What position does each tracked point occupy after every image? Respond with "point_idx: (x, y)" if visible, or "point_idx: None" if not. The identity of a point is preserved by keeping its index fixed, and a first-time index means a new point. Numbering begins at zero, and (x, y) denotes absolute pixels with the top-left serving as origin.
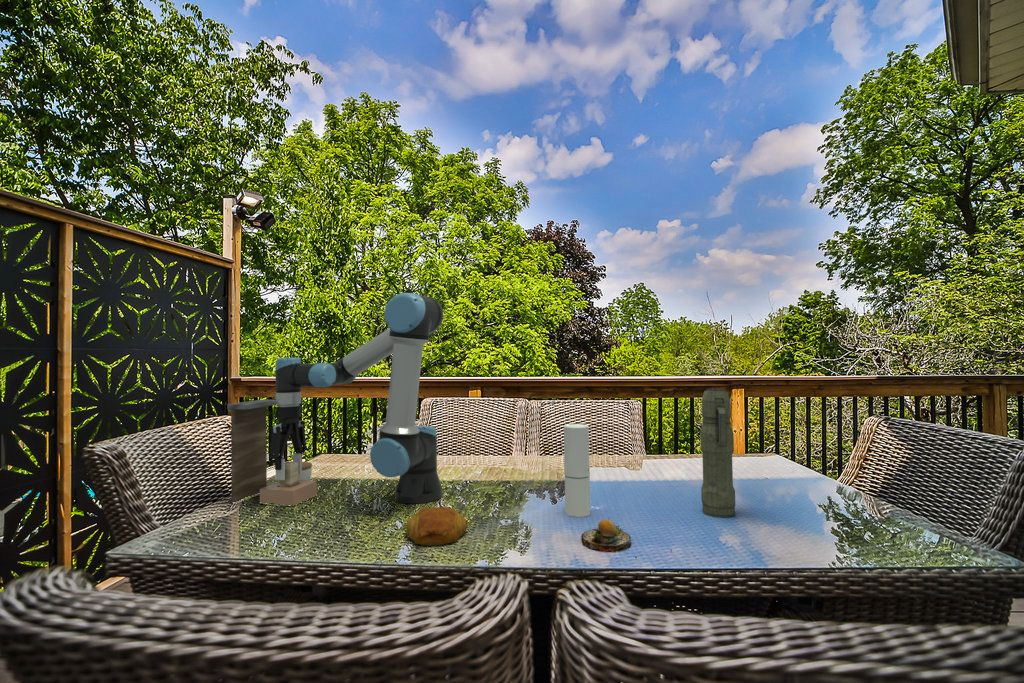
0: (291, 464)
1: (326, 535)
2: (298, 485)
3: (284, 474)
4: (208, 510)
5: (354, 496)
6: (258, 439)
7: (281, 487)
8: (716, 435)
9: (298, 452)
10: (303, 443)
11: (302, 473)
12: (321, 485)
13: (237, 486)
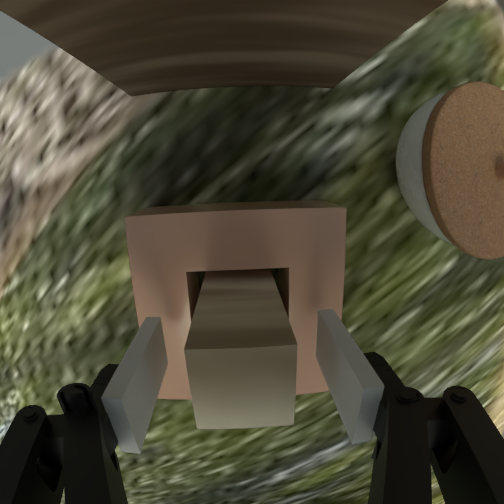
0: (211, 427)
1: None
2: None
3: (160, 381)
4: (57, 66)
5: (327, 450)
6: None
7: (183, 313)
8: None
9: (377, 425)
10: (438, 482)
11: (444, 240)
12: (457, 264)
13: (115, 73)
